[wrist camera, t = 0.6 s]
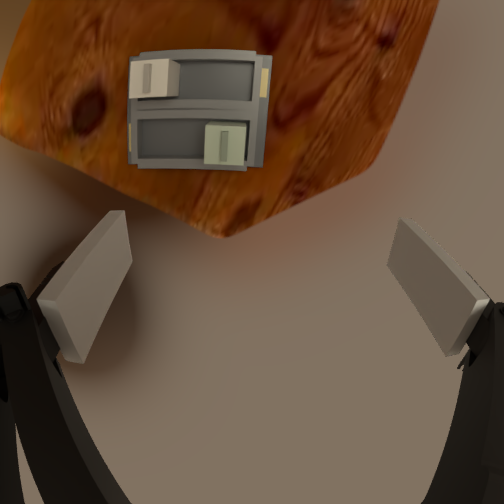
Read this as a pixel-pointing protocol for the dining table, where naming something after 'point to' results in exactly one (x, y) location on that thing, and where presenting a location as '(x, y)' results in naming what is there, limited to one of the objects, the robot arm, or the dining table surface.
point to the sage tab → (225, 143)
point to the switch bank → (200, 108)
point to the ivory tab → (154, 78)
